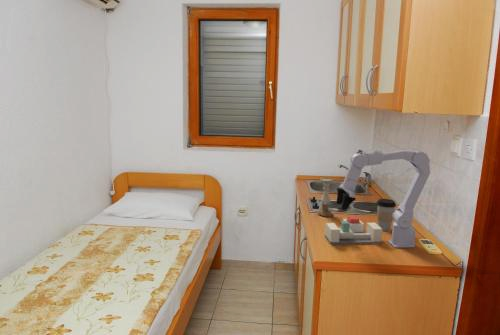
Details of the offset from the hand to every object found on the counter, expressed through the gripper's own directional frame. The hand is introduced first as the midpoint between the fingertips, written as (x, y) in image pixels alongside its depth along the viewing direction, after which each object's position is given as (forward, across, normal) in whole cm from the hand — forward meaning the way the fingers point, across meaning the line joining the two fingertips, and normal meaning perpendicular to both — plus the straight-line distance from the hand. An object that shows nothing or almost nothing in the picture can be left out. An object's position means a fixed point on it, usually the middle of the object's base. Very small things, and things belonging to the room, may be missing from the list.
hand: (340, 206), depth 181 cm
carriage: (+14, -1, +7) cm, 16 cm away
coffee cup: (+9, -15, +32) cm, 36 cm away
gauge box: (+14, -13, +16) cm, 24 cm away
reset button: (+10, -13, +15) cm, 22 cm away
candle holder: (+17, -40, +9) cm, 44 cm away
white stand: (+14, -1, +12) cm, 18 cm away
